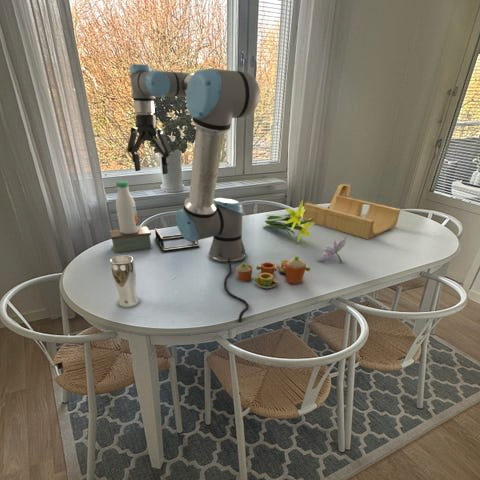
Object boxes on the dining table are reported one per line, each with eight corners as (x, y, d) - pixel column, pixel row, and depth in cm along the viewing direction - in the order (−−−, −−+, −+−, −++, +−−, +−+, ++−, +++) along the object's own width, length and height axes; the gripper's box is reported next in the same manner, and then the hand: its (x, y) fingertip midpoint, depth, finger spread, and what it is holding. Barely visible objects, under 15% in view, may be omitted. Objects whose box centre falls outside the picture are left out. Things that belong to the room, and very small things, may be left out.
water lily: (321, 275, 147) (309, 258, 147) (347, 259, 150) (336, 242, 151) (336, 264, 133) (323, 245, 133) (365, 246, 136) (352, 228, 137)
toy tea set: (291, 266, 138) (294, 243, 133) (312, 282, 126) (316, 258, 121) (231, 275, 129) (231, 251, 124) (247, 294, 117) (248, 268, 112)
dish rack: (199, 247, 152) (198, 235, 149) (163, 252, 147) (162, 239, 144) (188, 235, 165) (187, 223, 162) (155, 239, 160) (153, 227, 156)
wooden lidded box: (152, 248, 150) (150, 232, 146) (114, 253, 144) (111, 237, 140) (148, 241, 156) (146, 226, 152) (112, 246, 151) (108, 230, 147)
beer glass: (120, 297, 114) (112, 254, 106) (141, 296, 114) (135, 254, 106) (115, 308, 108) (106, 264, 100) (138, 307, 109) (131, 264, 100)
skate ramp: (302, 221, 190) (305, 191, 181) (338, 208, 210) (343, 180, 201) (367, 241, 166) (374, 207, 157) (401, 224, 186) (409, 194, 177)
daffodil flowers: (285, 225, 184) (331, 226, 154) (266, 243, 181) (309, 248, 151) (269, 199, 175) (314, 195, 145) (249, 218, 172) (291, 217, 143)
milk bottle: (134, 235, 143) (126, 184, 132) (116, 233, 144) (107, 183, 133) (142, 229, 149) (135, 180, 138) (125, 227, 150) (117, 179, 139)
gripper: (178, 114, 133) (181, 173, 145) (124, 112, 141) (132, 168, 152) (167, 115, 127) (172, 176, 139) (112, 112, 135) (121, 170, 146)
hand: (151, 172), depth 146 cm, fingers open, 13 cm apart
